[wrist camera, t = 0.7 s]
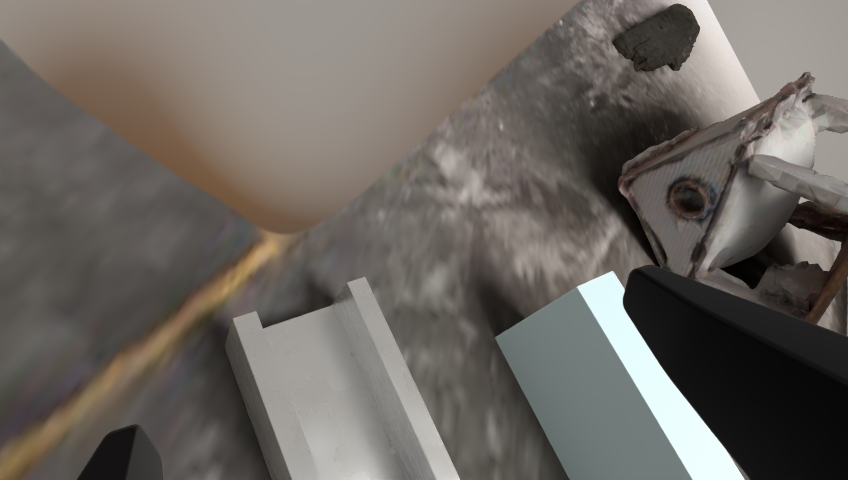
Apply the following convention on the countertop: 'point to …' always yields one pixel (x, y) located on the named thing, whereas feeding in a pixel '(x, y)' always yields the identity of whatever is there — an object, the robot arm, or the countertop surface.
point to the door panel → (608, 393)
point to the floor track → (335, 395)
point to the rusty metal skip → (747, 198)
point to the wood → (660, 39)
